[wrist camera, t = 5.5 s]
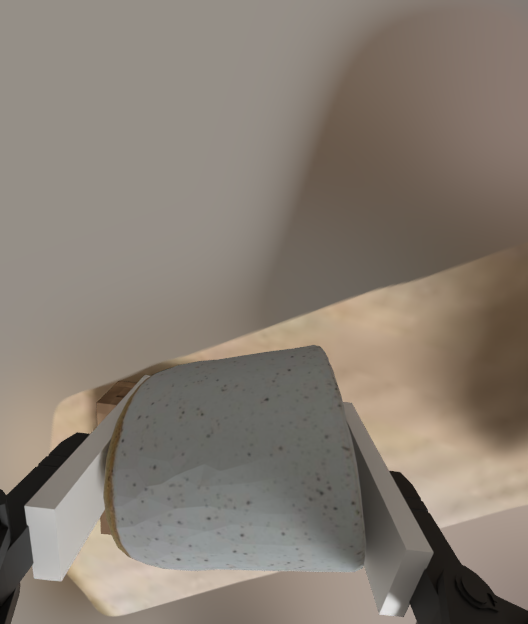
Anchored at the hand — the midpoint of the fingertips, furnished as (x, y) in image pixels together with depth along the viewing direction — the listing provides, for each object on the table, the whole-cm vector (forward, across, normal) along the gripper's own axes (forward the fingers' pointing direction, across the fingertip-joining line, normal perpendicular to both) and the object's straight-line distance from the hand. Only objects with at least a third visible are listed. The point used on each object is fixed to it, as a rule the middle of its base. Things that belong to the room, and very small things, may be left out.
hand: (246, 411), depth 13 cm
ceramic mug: (+1, -1, +1) cm, 2 cm away
